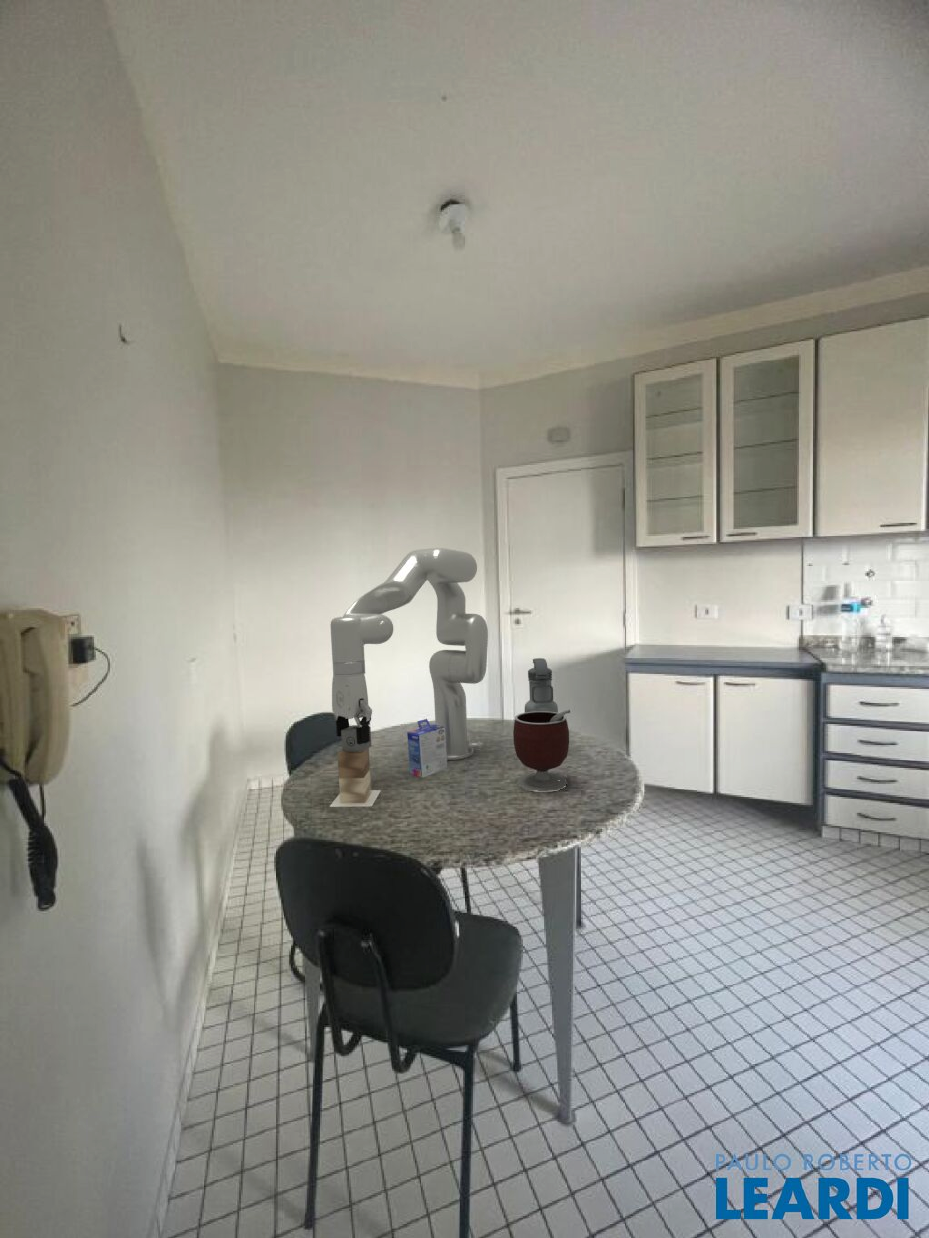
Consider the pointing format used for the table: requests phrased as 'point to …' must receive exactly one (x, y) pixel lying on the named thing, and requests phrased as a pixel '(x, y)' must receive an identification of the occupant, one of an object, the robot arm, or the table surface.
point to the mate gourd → (541, 747)
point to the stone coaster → (368, 803)
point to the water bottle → (540, 688)
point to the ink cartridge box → (427, 749)
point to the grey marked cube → (353, 740)
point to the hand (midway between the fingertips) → (352, 739)
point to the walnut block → (353, 764)
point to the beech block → (355, 789)
